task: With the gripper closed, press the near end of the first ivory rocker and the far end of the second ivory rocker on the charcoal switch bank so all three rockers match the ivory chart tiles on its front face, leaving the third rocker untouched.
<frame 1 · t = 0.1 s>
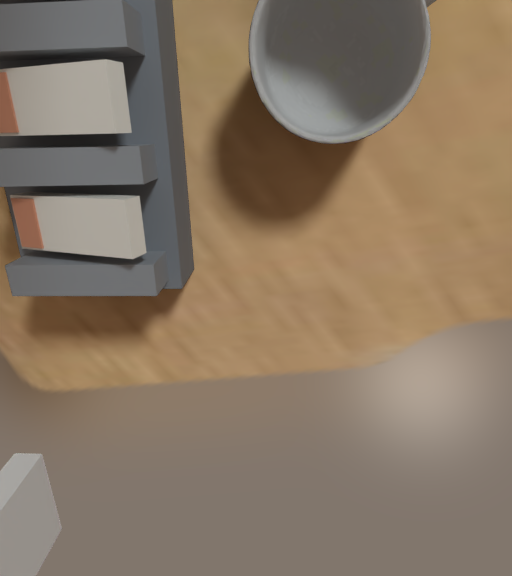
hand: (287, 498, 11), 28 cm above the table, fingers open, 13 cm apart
teacup: (345, 56, 32), on the table
rocker 2: (54, 101, 27), point 8 cm above the table, hinge at 17.0°
switch bank: (102, 106, 34), on the table
rocker 3: (76, 223, 30), point 8 cm above the table, hinge at 17.0°
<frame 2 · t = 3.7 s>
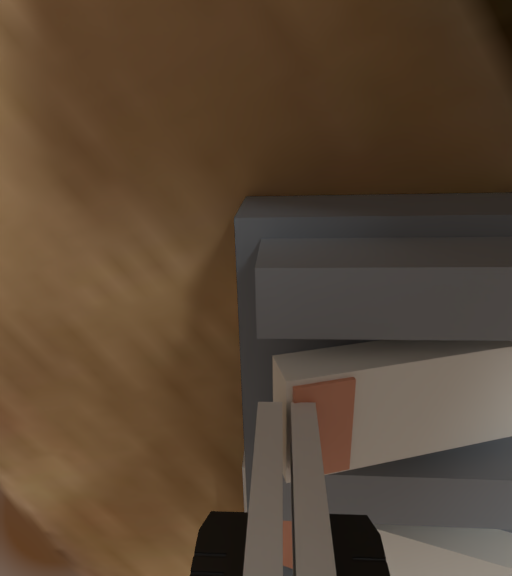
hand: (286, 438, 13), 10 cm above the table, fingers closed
rocker 2: (392, 553, 18), point 8 cm above the table, hinge at 17.0°
switch bank: (362, 432, 25), on the table
rocker 1: (414, 397, 15), point 8 cm above the table, hinge at -16.8°, touching gripper
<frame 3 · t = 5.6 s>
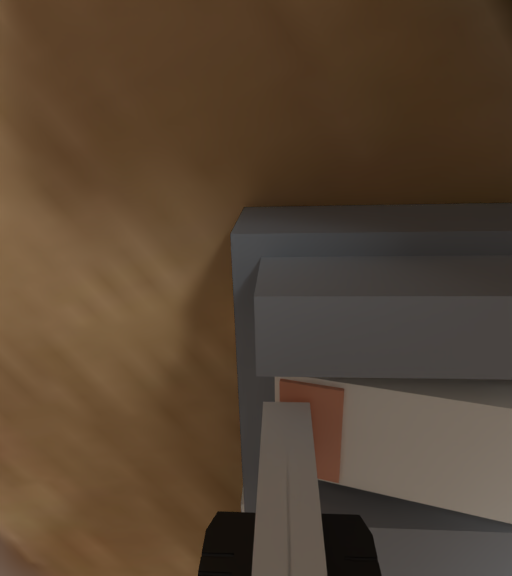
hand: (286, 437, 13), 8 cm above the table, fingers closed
switch bank: (371, 459, 23), on the table
rocker 1: (435, 438, 13), point 8 cm above the table, hinge at 14.6°
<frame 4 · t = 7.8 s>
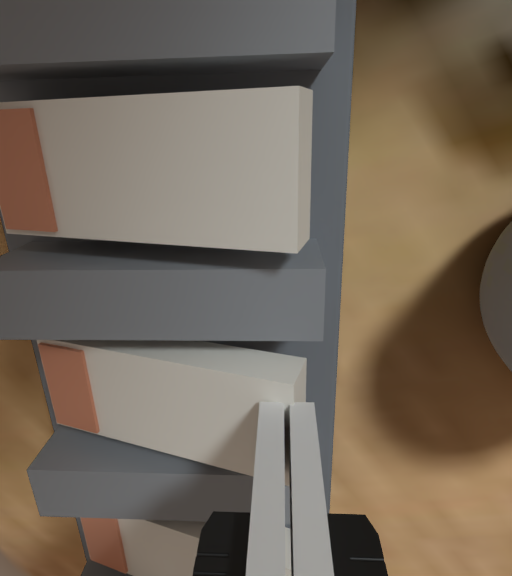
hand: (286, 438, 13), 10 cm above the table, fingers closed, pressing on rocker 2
rocker 2: (167, 395, 15), point 8 cm above the table, hinge at 16.9°, touching gripper
switch bank: (203, 310, 22), on the table
rocker 3: (185, 548, 18), point 8 cm above the table, hinge at 17.0°
rocker 1: (139, 170, 12), point 8 cm above the table, hinge at 15.1°
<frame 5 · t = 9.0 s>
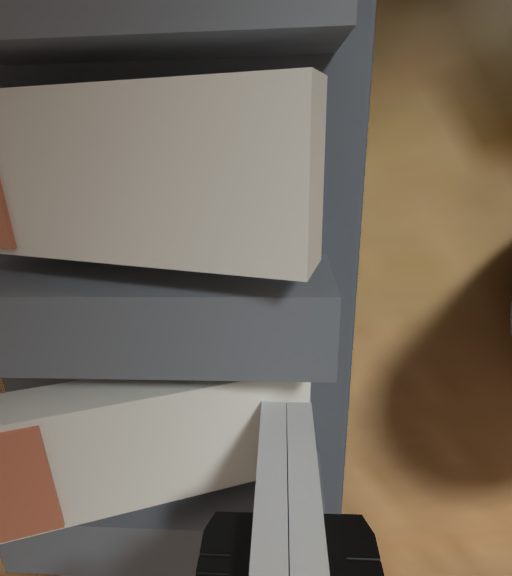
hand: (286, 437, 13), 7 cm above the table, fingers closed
rocker 2: (152, 438, 13), point 8 cm above the table, hinge at -19.6°, touching gripper
switch bank: (197, 328, 20), on the table
rocker 1: (113, 176, 10), point 8 cm above the table, hinge at 15.1°
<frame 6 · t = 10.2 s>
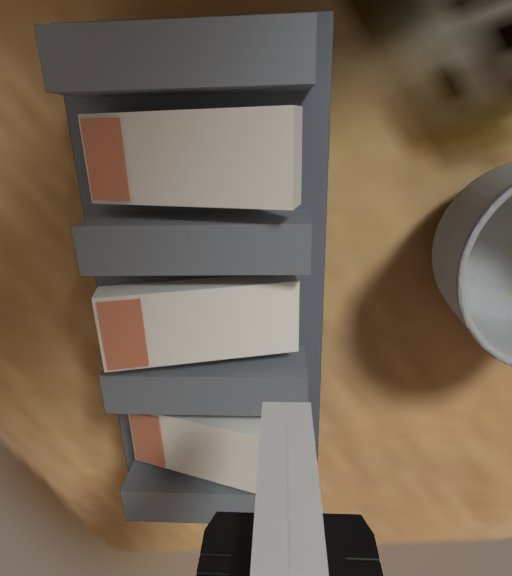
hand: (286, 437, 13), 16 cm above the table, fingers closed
rocker 2: (201, 320, 21), point 8 cm above the table, hinge at -13.0°
switch bank: (220, 273, 29), on the table
rocker 3: (210, 444, 24), point 8 cm above the table, hinge at 17.0°
rocker 1: (188, 159, 19), point 8 cm above the table, hinge at 15.1°
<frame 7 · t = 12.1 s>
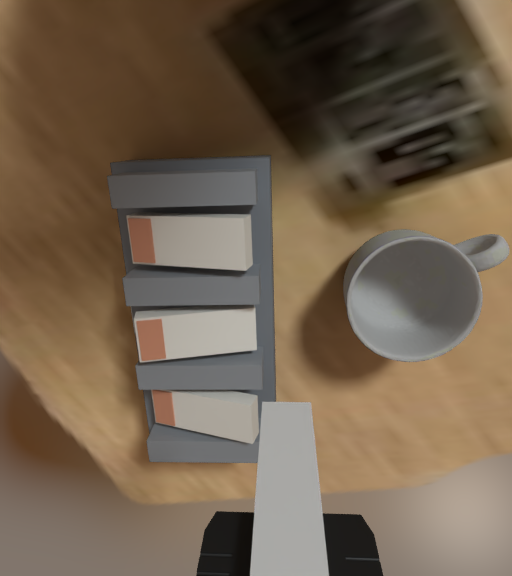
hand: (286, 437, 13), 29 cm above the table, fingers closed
teacup: (405, 267, 41), on the table
rocker 2: (197, 331, 36), point 8 cm above the table, hinge at -12.2°
switch bank: (210, 299, 43), on the table
rocker 3: (204, 409, 38), point 8 cm above the table, hinge at 17.0°
rocker 1: (188, 240, 33), point 8 cm above the table, hinge at 15.1°
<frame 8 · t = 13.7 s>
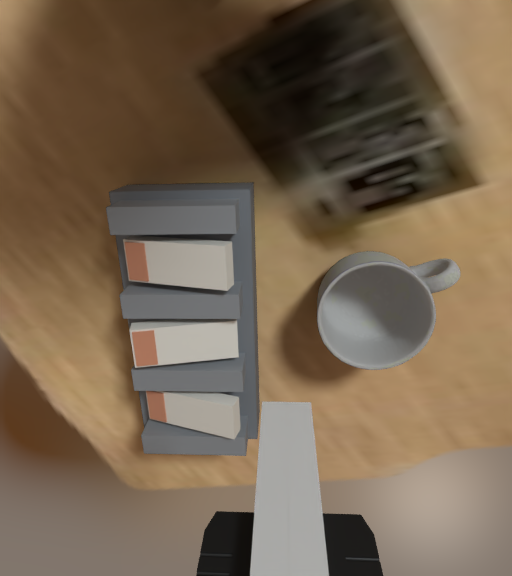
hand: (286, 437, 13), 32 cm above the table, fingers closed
teacup: (375, 283, 45), on the table
rocker 2: (185, 340, 41), point 8 cm above the table, hinge at -12.1°
switch bank: (200, 308, 48), on the table
rocker 3: (192, 408, 43), point 8 cm above the table, hinge at 17.0°
rocker 1: (178, 262, 38), point 8 cm above the table, hinge at 15.1°
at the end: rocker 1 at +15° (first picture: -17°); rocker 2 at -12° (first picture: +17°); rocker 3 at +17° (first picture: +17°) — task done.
